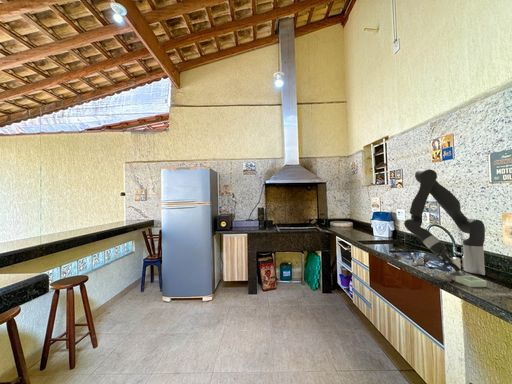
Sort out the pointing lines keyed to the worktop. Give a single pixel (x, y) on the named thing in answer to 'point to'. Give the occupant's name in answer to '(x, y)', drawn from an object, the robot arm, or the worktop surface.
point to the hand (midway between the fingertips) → (460, 270)
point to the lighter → (418, 259)
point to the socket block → (450, 276)
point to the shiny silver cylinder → (457, 262)
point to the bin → (471, 281)
